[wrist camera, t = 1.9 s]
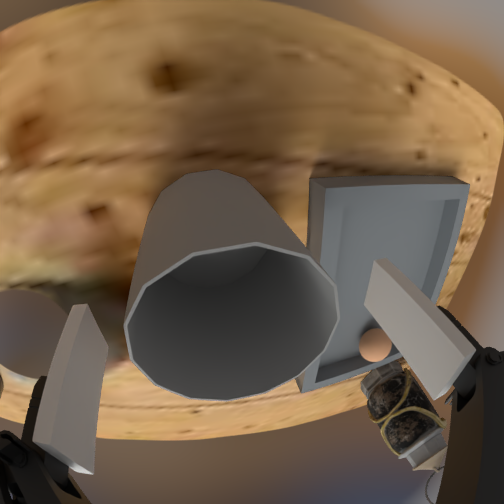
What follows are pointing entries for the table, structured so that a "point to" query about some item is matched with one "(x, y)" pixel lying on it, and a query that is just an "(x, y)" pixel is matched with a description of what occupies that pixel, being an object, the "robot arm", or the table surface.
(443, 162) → the table surface
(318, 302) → the cup
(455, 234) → the tray
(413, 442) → the lantern
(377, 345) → the ball
